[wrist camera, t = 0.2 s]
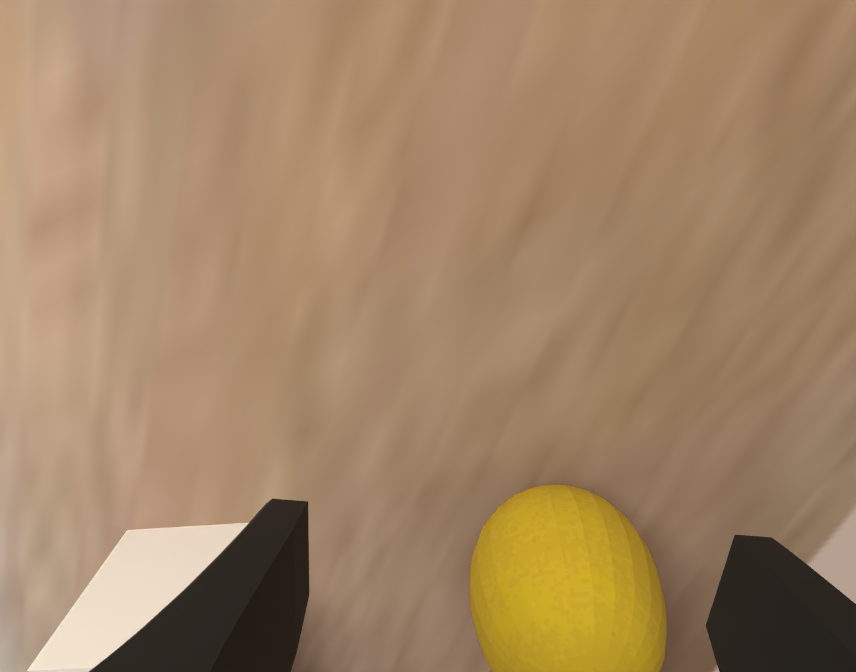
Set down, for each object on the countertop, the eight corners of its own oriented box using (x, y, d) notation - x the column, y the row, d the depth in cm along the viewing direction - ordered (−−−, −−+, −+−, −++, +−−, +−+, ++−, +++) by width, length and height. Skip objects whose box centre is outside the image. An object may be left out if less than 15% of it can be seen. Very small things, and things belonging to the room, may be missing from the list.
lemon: (488, 424, 21) (506, 614, 14) (646, 456, 21) (748, 661, 14) (451, 550, 23) (449, 773, 16) (595, 578, 23) (660, 810, 16)
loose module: (278, 603, 25) (225, 764, 19) (156, 609, 25) (68, 769, 19) (257, 521, 23) (192, 669, 17) (127, 529, 23) (22, 676, 18)
